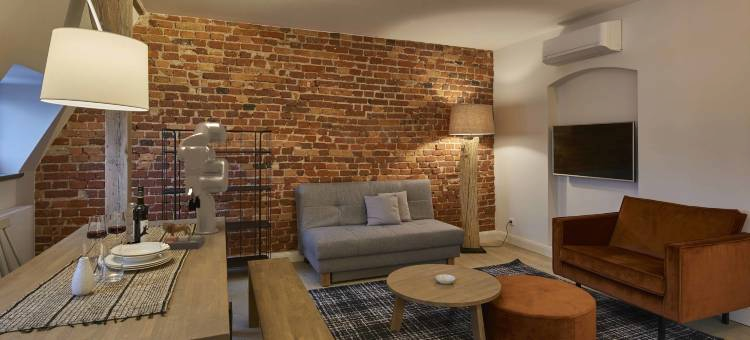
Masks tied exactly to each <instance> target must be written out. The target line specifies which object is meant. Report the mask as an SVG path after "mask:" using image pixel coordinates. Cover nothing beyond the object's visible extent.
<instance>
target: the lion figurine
mask: <svg viewBox="0 0 750 340" xmlns="http://www.w3.org/2000/svg"><path fill="white" fill-rule="evenodd" d="M162 229H163V231H164V232H166V233H168V234H170V236H175V233H177V234H178V233H180V232H184V234H183V236H190V237H191V236H194V234H193V233H192V231H191V227H190V226H189V225H187V224H180V225H177V224H176V223H172V222H170V221H165V222H163V223H162Z"/></svg>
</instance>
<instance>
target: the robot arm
mask: <svg viewBox="0 0 750 340" xmlns="http://www.w3.org/2000/svg"><path fill="white" fill-rule="evenodd" d="M227 139H228V133H227V130H226V127H225V126H224V125H223V124H222V123H221V122H217V121H216V122H213V121H212V122H211V121H210V122H208V121H203V122H199V123H198V124H196V125H195V128H194V131H193V133H192V135H190V136H189V135H188V136H187V137H186V138H184V139H182V140H180V143H179V145H178V147H177V151H176V156H177V160H179V161H181V162H184V176H185V192H184V194H185V197H188V198H187V199H188V200H187V203H188V211H189V212H195V211H196V229H195V230H194V231H193V232H194V235H211V234H215V233H218V232H219V228H216V227H217V226H216V201H215V198H214V196H213V195H212V194H211V193H225V192H226V191H227V190H228V187H229V173H230V172H229V171H230V170H229V168H230V167H229V161H228V160H227V159H226V158H222V157H221V158H218V157H217V158H216V151H215V149H214V148H213V147H212V146H211V145H210V144H223V143H226V141H227Z"/></svg>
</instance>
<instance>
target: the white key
mask: <svg viewBox="0 0 750 340" xmlns="http://www.w3.org/2000/svg"><path fill="white" fill-rule="evenodd" d="M178 237H179V241H188V240H189V239H190V236H189V235H186V236H184V235H181V236H180V235H179V236H178Z"/></svg>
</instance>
